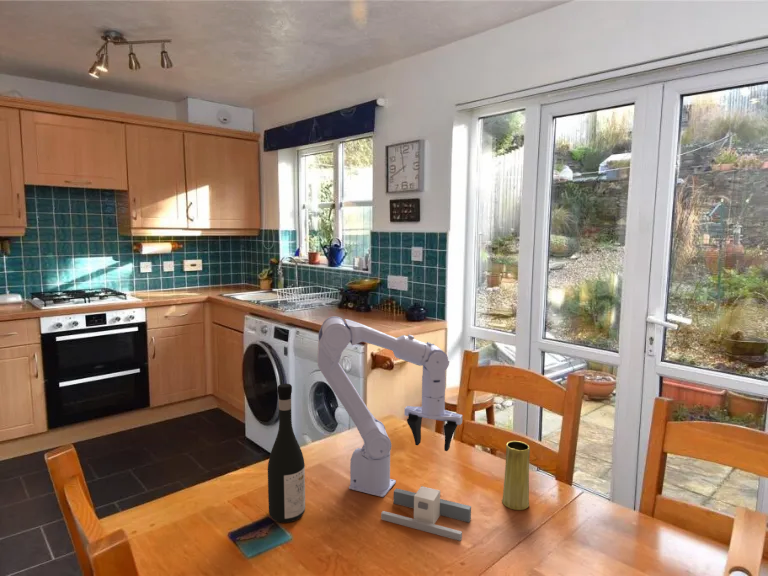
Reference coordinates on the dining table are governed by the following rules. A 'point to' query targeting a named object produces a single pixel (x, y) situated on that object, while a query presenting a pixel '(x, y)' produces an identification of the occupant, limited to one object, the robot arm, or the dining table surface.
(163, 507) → the dining table surface
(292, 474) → the wine bottle
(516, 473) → the vase
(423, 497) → the cabinet block
